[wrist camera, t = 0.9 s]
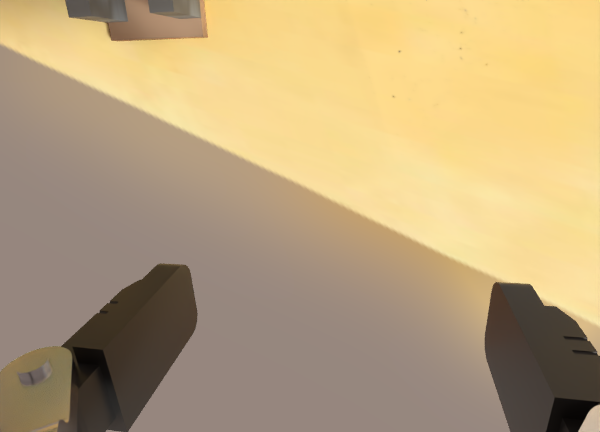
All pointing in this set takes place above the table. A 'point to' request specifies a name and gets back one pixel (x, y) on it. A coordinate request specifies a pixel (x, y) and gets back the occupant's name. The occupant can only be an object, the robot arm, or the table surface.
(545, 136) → the table surface
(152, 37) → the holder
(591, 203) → the table surface
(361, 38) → the table surface
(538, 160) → the table surface
